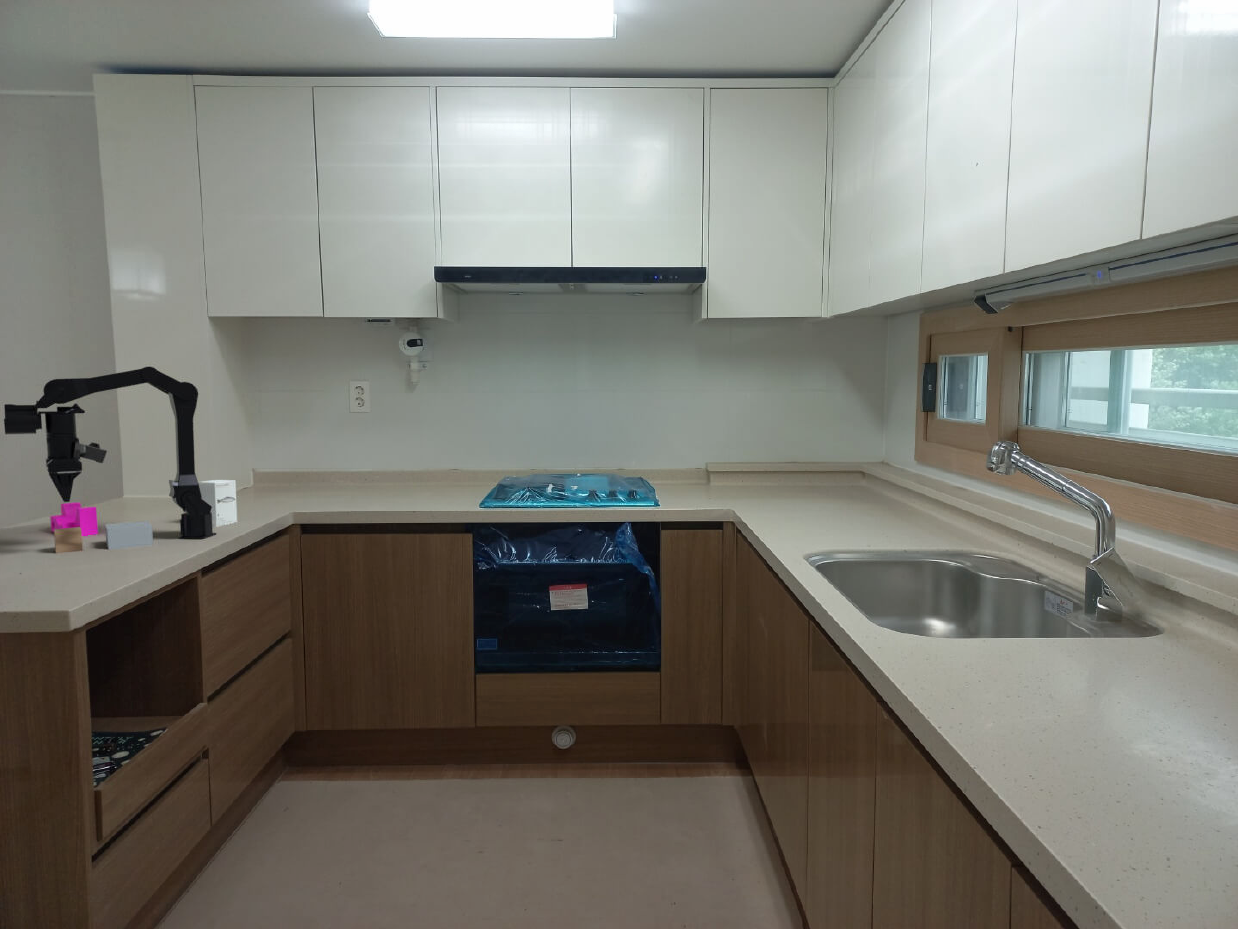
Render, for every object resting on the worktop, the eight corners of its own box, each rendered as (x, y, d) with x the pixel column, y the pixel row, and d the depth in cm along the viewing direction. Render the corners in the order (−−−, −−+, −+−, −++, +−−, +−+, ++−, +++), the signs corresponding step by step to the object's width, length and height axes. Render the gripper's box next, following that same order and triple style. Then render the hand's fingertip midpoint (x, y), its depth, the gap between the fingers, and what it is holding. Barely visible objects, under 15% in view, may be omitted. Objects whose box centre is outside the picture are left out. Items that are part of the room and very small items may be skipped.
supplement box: (216, 528, 207) (214, 482, 206) (196, 526, 210) (193, 481, 208) (238, 524, 214) (236, 479, 213) (218, 522, 216) (216, 478, 215)
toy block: (51, 532, 202) (49, 504, 201) (78, 529, 207) (77, 502, 206) (69, 539, 192) (67, 510, 192) (98, 535, 197) (96, 507, 197)
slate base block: (148, 540, 192) (147, 520, 191) (153, 545, 184) (151, 525, 184) (106, 544, 186) (104, 524, 186) (108, 550, 179) (107, 529, 179)
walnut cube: (81, 547, 181) (79, 527, 181) (82, 551, 177) (81, 530, 177) (55, 550, 178) (53, 529, 178) (56, 553, 174) (54, 532, 174)
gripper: (106, 433, 173) (110, 501, 175) (100, 430, 188) (103, 493, 189) (45, 435, 166) (50, 505, 168) (43, 432, 181) (48, 496, 182)
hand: (65, 499), depth 177 cm, fingers open, 9 cm apart
